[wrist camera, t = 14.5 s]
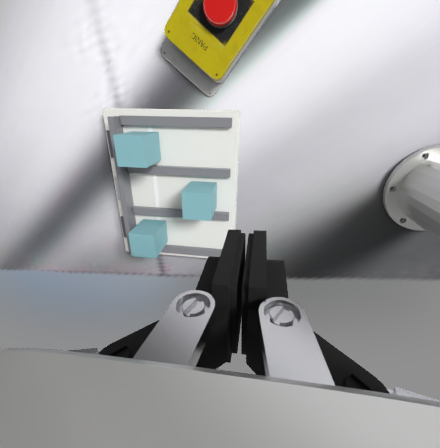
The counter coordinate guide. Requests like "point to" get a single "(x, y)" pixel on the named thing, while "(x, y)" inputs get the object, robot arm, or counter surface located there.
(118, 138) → the teal rectangular block
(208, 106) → the counter surface
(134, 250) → the teal rectangular block
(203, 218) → the light teal block
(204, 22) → the emergency button
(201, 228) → the white ridged tray
